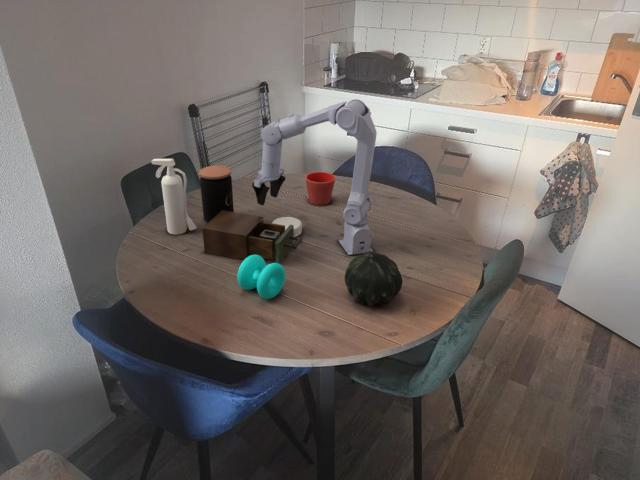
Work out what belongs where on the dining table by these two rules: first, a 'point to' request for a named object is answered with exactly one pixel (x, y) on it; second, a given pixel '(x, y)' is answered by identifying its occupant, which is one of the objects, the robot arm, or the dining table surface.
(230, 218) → the cabinet
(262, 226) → the drawer
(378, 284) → the squash
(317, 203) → the flower pot
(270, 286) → the teal yo-yo
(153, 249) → the dining table surface
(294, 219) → the white ridged disc
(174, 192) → the fire extinguisher
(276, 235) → the cube with black handle
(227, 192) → the coffee jar
